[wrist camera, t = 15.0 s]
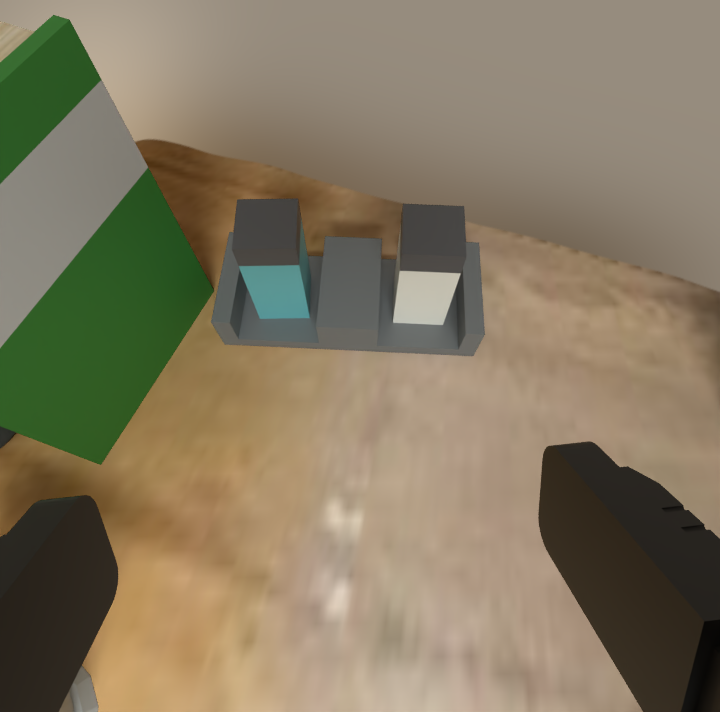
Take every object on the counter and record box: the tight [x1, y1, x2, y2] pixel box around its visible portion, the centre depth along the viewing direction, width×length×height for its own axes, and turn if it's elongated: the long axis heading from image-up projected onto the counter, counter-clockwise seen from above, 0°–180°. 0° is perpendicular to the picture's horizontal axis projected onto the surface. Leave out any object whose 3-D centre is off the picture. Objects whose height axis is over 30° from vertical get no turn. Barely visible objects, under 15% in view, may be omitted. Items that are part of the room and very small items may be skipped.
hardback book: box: [0, 15, 214, 465], centre depth 30 cm, size 18×7×24 cm, turn 157°
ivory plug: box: [393, 204, 467, 325], centre depth 38 cm, size 4×4×10 cm
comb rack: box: [211, 232, 485, 356], centre depth 41 cm, size 22×9×4 cm, turn 87°
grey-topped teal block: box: [232, 199, 311, 319], centre depth 38 cm, size 4×4×10 cm
